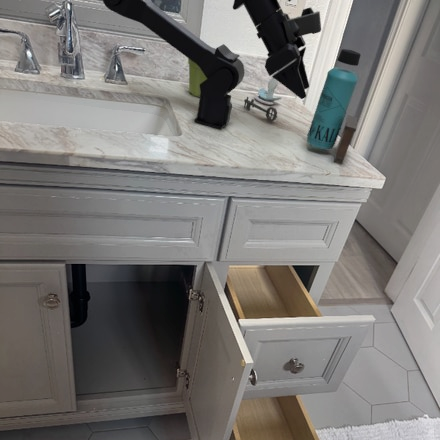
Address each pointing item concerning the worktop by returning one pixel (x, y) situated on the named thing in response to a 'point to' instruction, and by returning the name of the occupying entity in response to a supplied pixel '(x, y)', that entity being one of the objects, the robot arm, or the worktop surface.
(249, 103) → the key
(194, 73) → the plant pot
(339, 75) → the beverage bottle
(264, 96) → the pacifier
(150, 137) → the worktop surface
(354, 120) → the dark brown flat block
